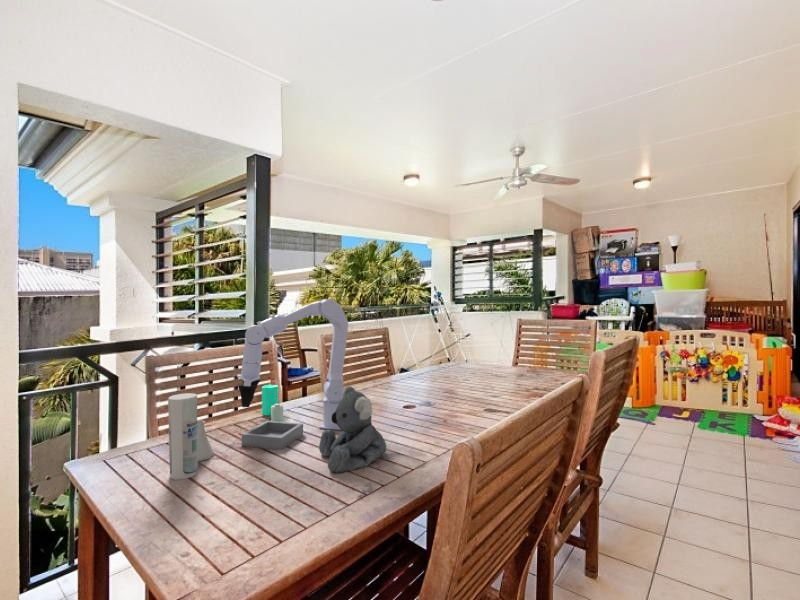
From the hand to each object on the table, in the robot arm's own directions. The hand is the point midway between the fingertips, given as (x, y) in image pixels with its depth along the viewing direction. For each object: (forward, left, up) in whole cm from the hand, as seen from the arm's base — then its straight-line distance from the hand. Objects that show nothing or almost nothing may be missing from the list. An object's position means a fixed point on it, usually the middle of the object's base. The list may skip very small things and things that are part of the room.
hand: (247, 403), depth 131 cm
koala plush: (-41, +9, -11) cm, 43 cm away
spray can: (-2, +29, -10) cm, 31 cm away
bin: (-11, +2, -10) cm, 15 cm away
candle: (+6, -23, -11) cm, 26 cm away
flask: (+2, +19, -11) cm, 22 cm away
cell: (-5, -10, -10) cm, 15 cm away
